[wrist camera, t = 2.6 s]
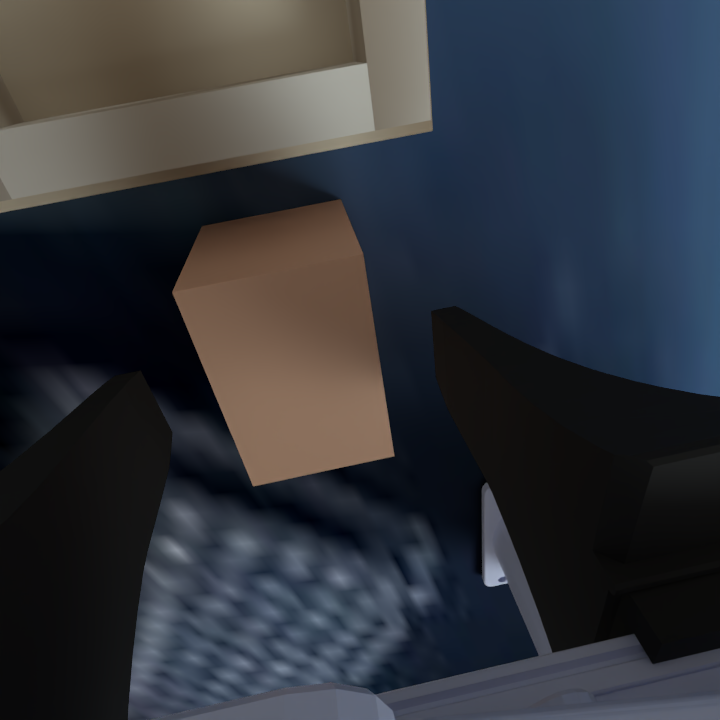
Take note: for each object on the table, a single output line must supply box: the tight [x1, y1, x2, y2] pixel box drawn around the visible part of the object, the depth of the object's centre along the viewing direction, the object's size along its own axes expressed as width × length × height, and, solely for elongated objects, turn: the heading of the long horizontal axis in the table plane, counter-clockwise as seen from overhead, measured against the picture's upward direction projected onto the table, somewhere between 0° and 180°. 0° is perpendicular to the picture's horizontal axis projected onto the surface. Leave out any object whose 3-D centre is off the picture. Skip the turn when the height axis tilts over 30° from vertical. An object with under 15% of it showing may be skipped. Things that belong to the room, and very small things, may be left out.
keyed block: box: [172, 199, 394, 486], centre depth 13 cm, size 4×6×4 cm, turn 8°
